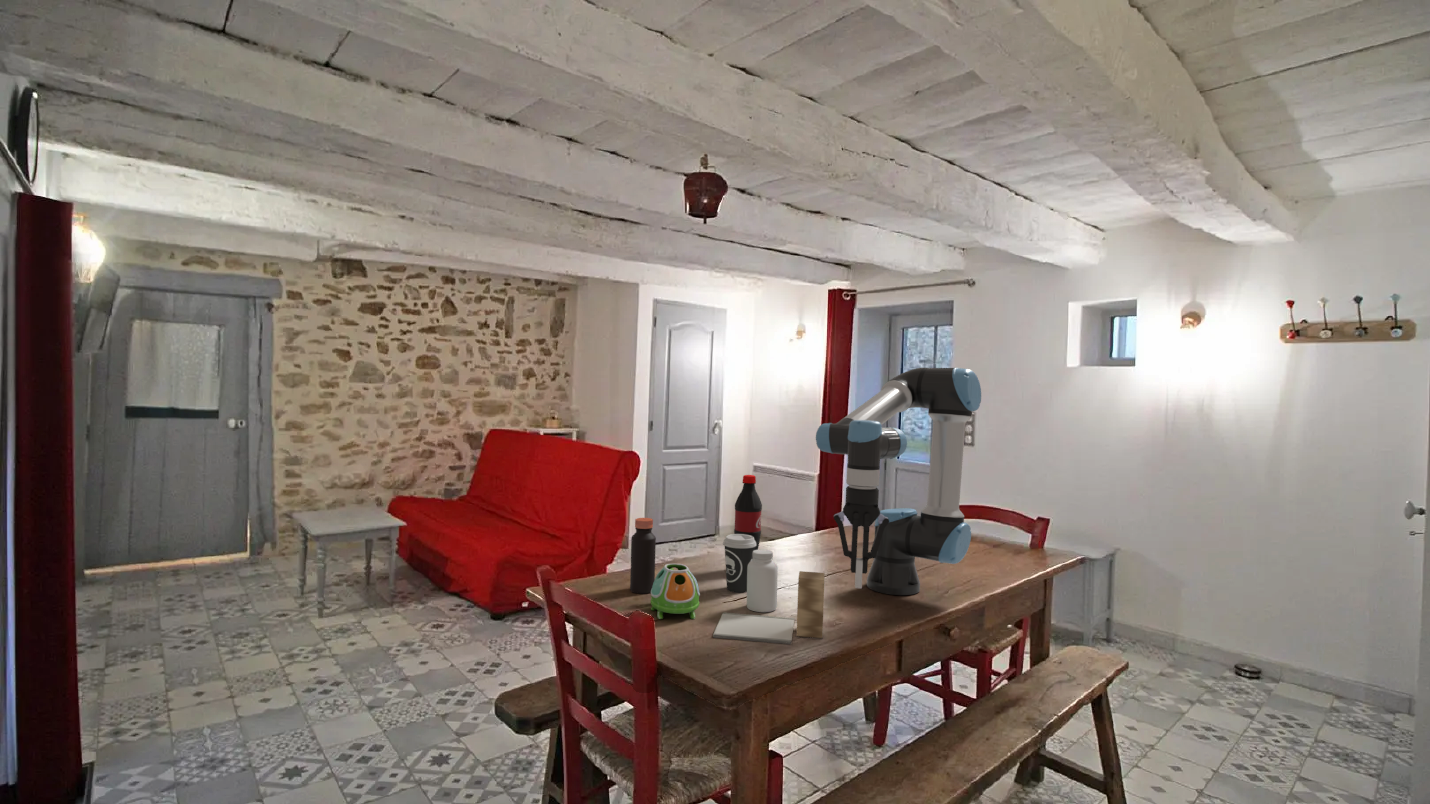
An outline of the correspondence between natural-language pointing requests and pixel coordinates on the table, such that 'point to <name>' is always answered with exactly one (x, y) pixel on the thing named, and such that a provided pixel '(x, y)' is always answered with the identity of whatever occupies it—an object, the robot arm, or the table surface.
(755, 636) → the shallow grey tray
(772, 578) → the pill bottle
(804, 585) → the oak block
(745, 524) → the cola bottle
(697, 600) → the turtle holder
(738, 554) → the coffee cup
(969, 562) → the table surface
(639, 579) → the vinegar
